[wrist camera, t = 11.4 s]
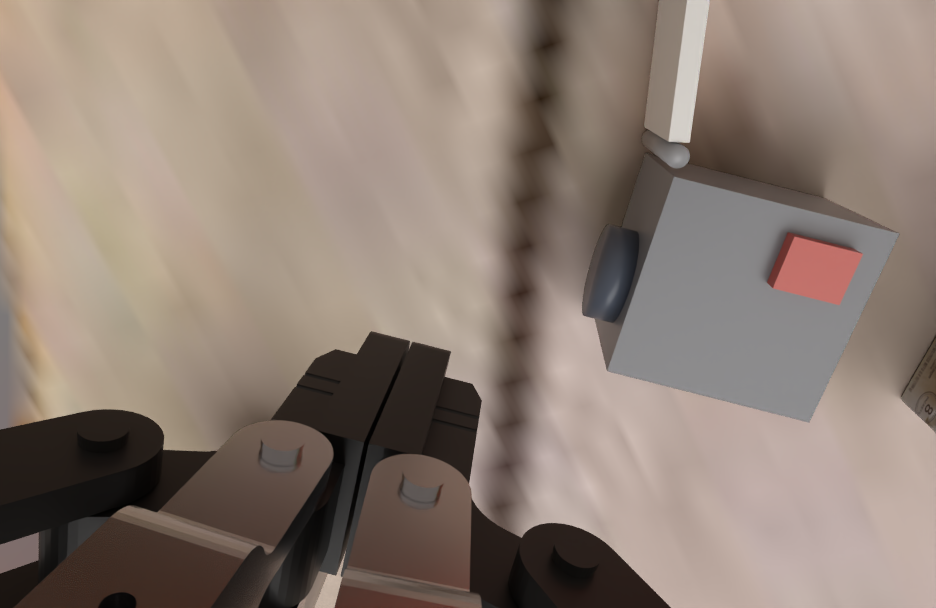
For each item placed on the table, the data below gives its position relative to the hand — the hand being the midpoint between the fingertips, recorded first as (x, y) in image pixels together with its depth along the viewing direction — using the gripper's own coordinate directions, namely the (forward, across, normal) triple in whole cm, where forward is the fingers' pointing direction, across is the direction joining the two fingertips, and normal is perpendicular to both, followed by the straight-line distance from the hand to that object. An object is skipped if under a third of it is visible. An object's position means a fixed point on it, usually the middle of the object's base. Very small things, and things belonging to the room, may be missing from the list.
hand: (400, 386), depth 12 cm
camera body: (+27, -13, +2) cm, 30 cm away
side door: (+27, -7, -10) cm, 29 cm away
